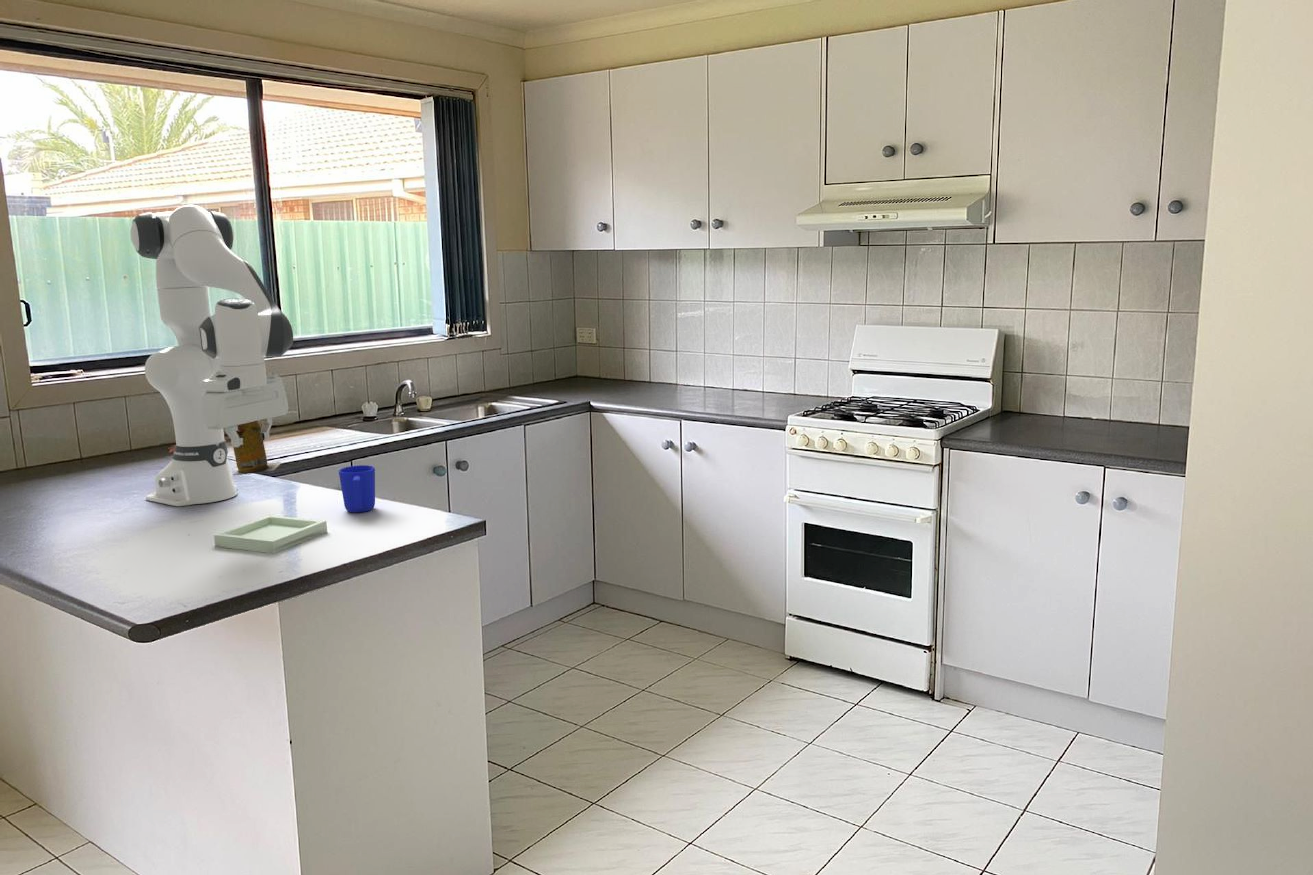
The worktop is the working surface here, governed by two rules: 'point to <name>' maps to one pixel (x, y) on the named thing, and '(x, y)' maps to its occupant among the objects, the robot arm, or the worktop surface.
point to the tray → (270, 534)
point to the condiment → (251, 451)
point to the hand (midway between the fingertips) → (251, 443)
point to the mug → (358, 487)
